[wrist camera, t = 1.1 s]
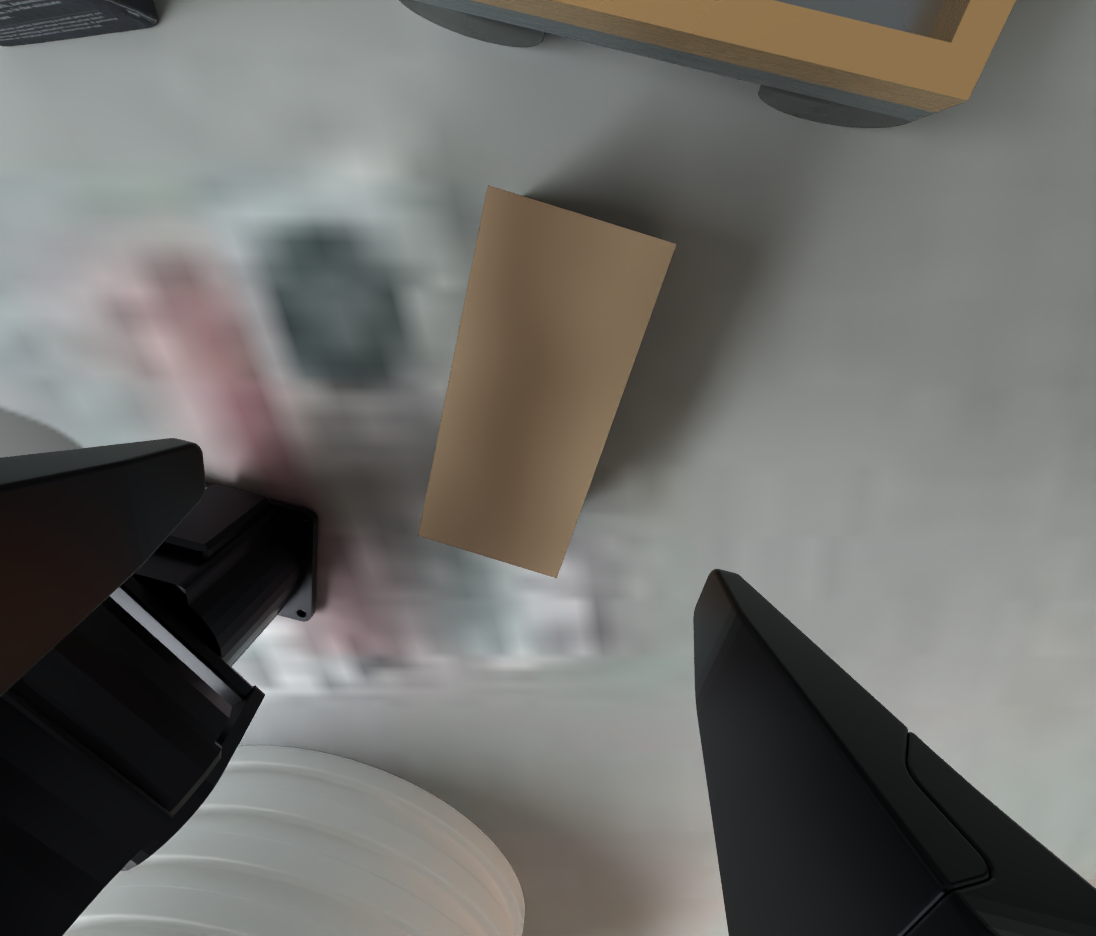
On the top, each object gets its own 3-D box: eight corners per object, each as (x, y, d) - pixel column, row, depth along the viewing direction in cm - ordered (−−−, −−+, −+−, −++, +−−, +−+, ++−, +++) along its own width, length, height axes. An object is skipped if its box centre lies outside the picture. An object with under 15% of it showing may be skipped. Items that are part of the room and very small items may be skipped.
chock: (661, 240, 18) (676, 243, 13) (568, 507, 22) (556, 578, 18) (520, 197, 18) (487, 185, 13) (458, 474, 22) (417, 535, 18)
